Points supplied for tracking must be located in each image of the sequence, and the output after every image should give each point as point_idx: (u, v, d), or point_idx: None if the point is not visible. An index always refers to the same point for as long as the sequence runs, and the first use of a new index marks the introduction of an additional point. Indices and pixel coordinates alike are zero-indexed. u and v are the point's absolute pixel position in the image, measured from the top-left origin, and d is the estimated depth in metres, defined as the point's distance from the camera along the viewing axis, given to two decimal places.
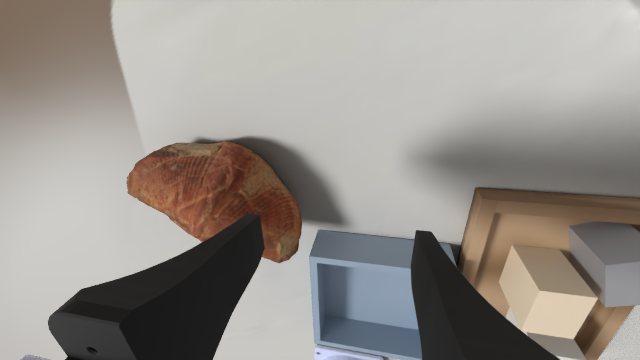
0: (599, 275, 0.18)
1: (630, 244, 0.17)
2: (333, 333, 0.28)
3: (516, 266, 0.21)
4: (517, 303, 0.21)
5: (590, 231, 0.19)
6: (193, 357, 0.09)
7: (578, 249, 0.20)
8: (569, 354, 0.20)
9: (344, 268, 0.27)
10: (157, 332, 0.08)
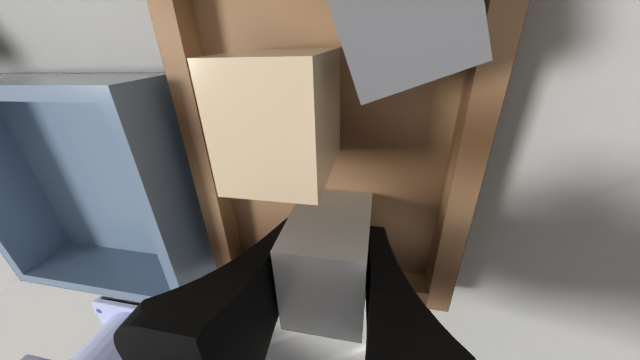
0: None
1: None
2: (55, 265, 0.17)
3: None
4: None
5: None
6: None
7: None
8: (337, 253, 0.09)
9: (45, 147, 0.15)
10: (223, 345, 0.07)
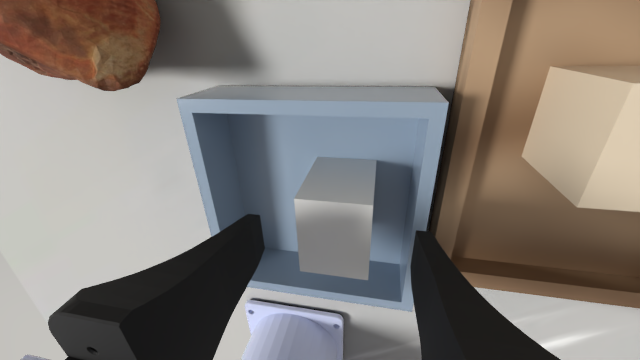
0: None
1: None
2: None
3: (561, 94, 0.11)
4: (566, 160, 0.10)
5: None
6: (193, 357, 0.09)
7: None
8: (349, 199, 0.11)
9: (264, 155, 0.16)
10: (157, 332, 0.08)
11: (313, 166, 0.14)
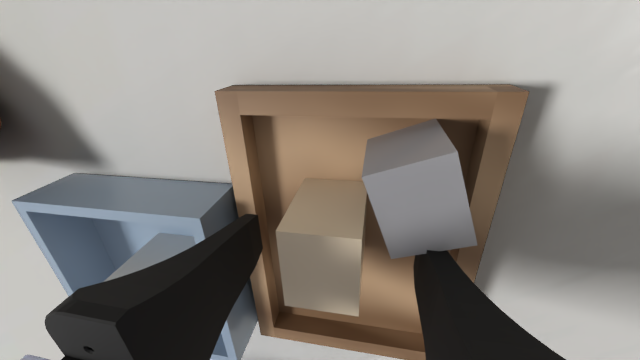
0: None
1: (418, 145, 0.10)
2: None
3: None
4: None
5: (384, 141, 0.12)
6: (190, 356, 0.09)
7: None
8: None
9: (119, 229, 0.19)
10: (154, 331, 0.08)
11: (145, 245, 0.17)
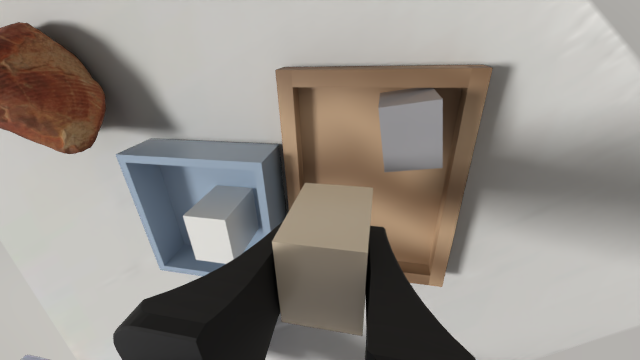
0: None
1: (417, 96, 0.15)
2: (182, 259, 0.26)
3: None
4: None
5: (393, 93, 0.17)
6: None
7: None
8: (213, 216, 0.19)
9: (184, 183, 0.24)
10: (223, 345, 0.07)
11: (209, 192, 0.22)
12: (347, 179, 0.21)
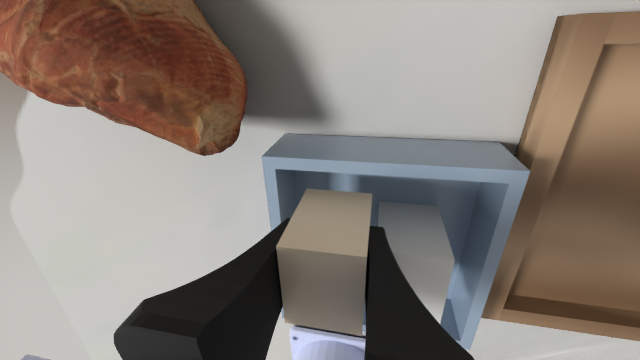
0: None
1: None
2: None
3: None
4: None
5: None
6: None
7: None
8: (429, 252, 0.12)
9: None
10: (224, 345, 0.07)
11: (380, 212, 0.15)
12: (609, 195, 0.14)
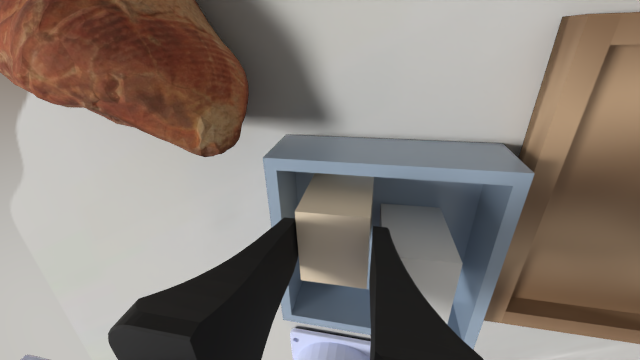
0: None
1: None
2: (312, 305, 0.18)
3: None
4: None
5: None
6: None
7: None
8: (436, 256, 0.12)
9: None
10: (218, 344, 0.07)
11: (383, 215, 0.15)
12: (613, 197, 0.14)
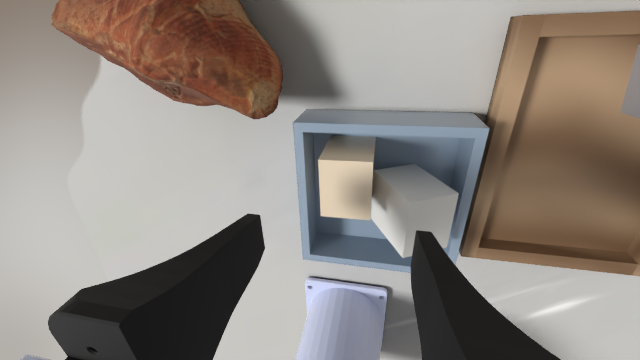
0: None
1: None
2: (326, 248, 0.23)
3: None
4: None
5: None
6: (193, 357, 0.09)
7: None
8: (441, 193, 0.16)
9: None
10: (157, 332, 0.08)
11: (383, 177, 0.18)
12: (555, 152, 0.18)
